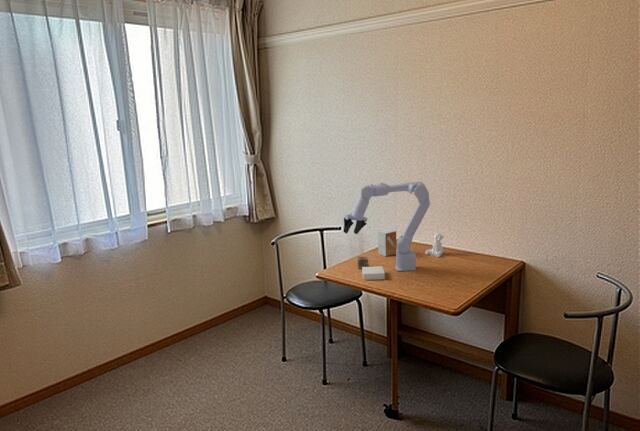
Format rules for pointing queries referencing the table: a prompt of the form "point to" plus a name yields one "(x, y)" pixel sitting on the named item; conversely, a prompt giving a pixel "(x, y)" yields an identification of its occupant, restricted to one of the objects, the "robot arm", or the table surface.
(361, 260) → the walnut cube
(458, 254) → the table surface
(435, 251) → the white creature statuette
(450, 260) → the table surface
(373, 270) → the base block
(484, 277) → the table surface
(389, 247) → the small box
